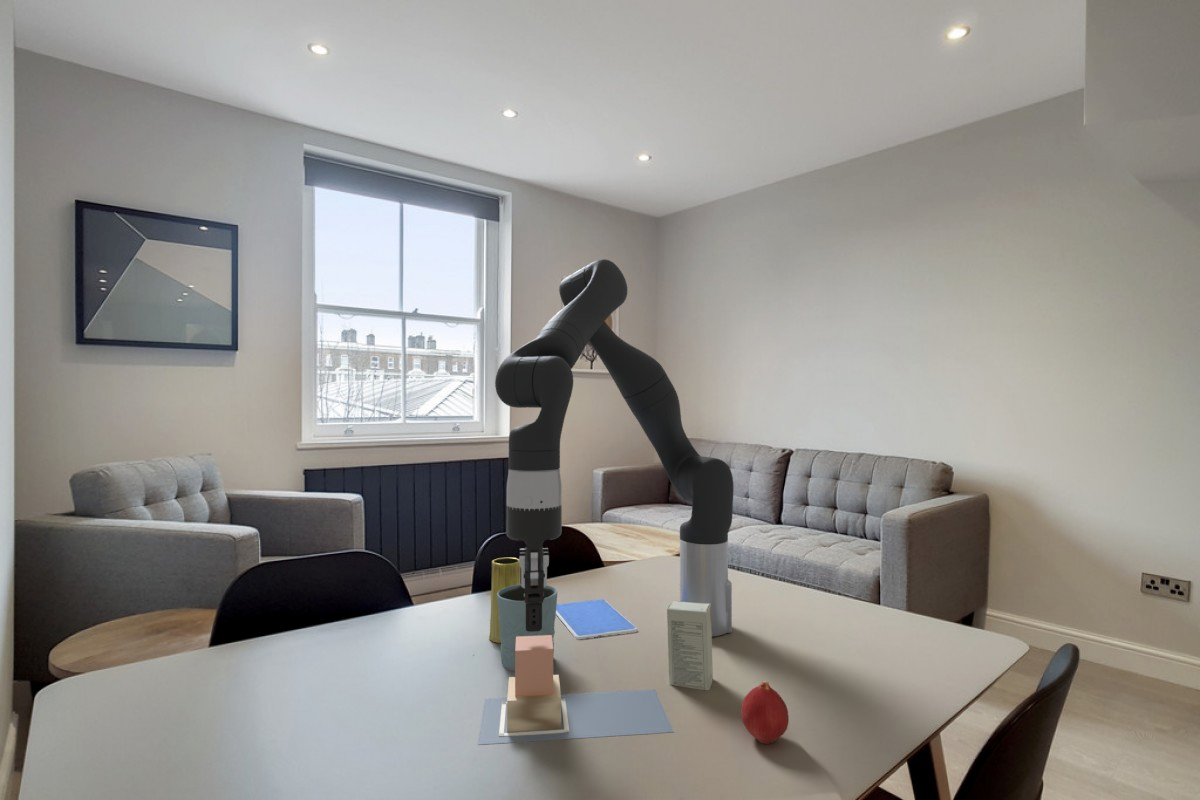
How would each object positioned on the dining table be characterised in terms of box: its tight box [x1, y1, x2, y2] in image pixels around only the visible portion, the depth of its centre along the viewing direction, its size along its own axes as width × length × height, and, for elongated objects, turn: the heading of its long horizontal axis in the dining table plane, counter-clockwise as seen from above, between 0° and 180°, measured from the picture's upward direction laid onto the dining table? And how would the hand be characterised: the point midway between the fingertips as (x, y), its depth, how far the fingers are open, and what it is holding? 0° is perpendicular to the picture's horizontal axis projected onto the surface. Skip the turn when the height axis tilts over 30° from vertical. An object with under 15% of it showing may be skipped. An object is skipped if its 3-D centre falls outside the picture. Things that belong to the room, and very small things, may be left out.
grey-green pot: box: [497, 584, 558, 672], centre depth 100 cm, size 10×10×12 cm
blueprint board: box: [477, 688, 675, 746], centre depth 82 cm, size 25×12×1 cm, turn 97°
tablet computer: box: [556, 598, 639, 640], centre depth 121 cm, size 19×13×1 cm, turn 20°
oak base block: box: [506, 674, 562, 732], centre depth 81 cm, size 7×7×4 cm
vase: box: [488, 556, 521, 644], centre depth 112 cm, size 6×6×14 cm
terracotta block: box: [514, 635, 554, 697], centre depth 82 cm, size 5×5×6 cm
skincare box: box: [666, 600, 714, 691], centre depth 92 cm, size 6×4×12 cm
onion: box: [740, 680, 790, 745], centre depth 76 cm, size 6×6×8 cm
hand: (533, 629), depth 82 cm, fingers closed
